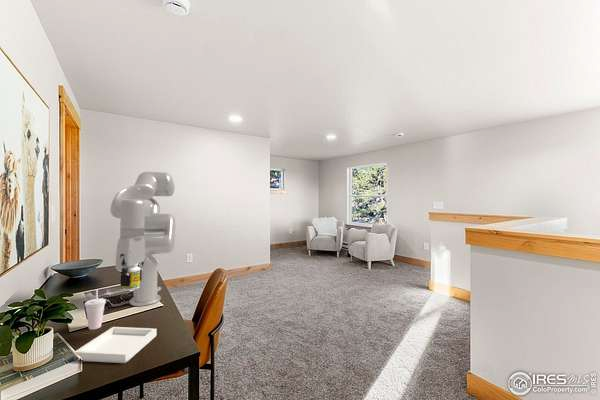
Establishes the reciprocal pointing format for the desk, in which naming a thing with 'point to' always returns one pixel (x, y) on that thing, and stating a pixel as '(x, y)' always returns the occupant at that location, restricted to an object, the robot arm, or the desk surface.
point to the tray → (116, 344)
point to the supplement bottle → (133, 278)
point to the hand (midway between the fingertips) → (131, 282)
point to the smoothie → (95, 312)
